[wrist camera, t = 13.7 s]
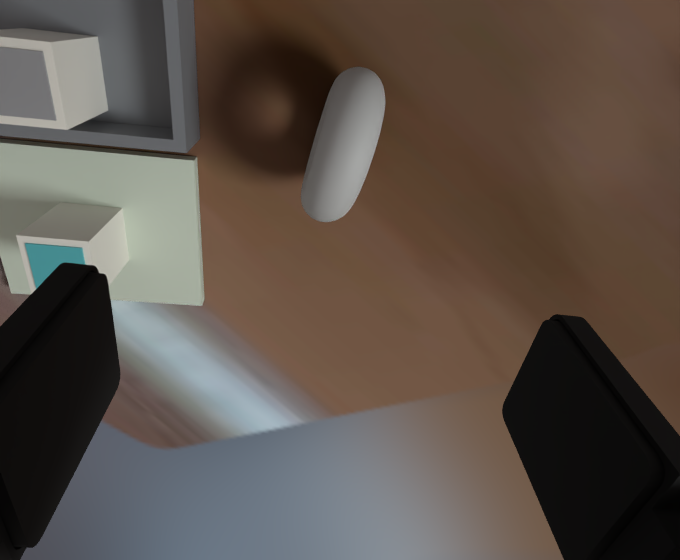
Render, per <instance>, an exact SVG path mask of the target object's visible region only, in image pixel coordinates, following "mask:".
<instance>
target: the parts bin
mask: <svg viewBox="0 0 680 560" xmlns="http://www.w3.org/2000/svg"><path fill="white" fill-rule="evenodd" d="M16 28H27V29H36V30H45V31H54V32H62V33H71V34H80V35H89V36H98V42H99V49H100V56H101V63H102V70H103V77H104V84H105V91H106V98H107V105H108V111H106V112H104V113H102V114H100V115H98V116H96V117H94V118H91V119H89V120H87V121H85V122H83V123H81V124H79V125H77V126H75V127H73V128H70V129H68V130H63V129H53V128H42V127H32V126H21V125H11V124H0V136H9V137H20V138H31V139H41V140H52V141H63V142H73V143H84V144H95V145H105V146H116V147H127V148H137V149H148V150H159V151H169V152H180V153H187V152H188V151H189V150H190V149H191V148H192V147H193V146H194V145H195V144H196V142H197V141H198V140H199V139H200V126H199V105H198V84H197V63H196V42H195V21H194V0H0V29H16Z"/></svg>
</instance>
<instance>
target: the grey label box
mask: <svg viewBox="0 0 680 560" xmlns="http://www.w3.org/2000/svg"><path fill="white" fill-rule="evenodd" d="M106 111H108V105H107V98H106V91H105V84H104V77H103V70H102V63H101V56H100V49H99V42H98V36H89V35H80V34H71V33H62V32H54V31H45V30H36V29H27V28H16V29H0V124H11V125H21V126H32V127H42V128H53V129H63V130H68V129H70V128H73V127H75V126H77V125H79V124H81V123H83V122H85V121H87V120H89V119H91V118H94V117H96V116H98V115H100V114H102V113H104V112H106Z"/></svg>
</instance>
